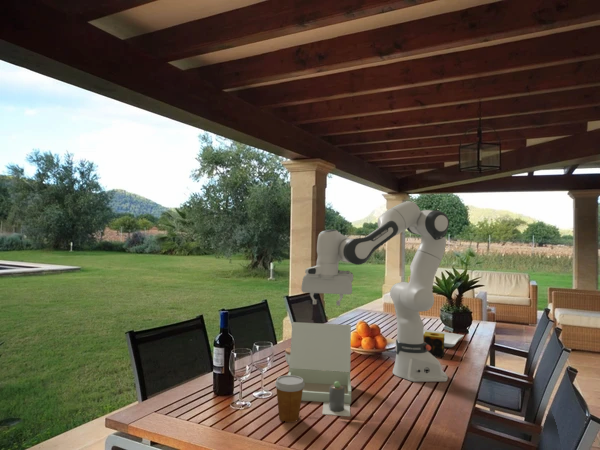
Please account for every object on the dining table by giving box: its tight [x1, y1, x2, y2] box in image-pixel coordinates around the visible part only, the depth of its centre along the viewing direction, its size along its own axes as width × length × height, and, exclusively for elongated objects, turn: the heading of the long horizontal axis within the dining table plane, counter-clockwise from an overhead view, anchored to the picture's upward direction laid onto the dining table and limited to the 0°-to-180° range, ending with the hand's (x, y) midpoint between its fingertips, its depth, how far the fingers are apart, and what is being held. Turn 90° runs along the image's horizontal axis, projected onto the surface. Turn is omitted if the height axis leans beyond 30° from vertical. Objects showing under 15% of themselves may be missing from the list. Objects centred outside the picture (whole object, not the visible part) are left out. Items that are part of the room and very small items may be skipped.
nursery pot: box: [328, 381, 345, 412], centre depth 133 cm, size 5×5×9 cm
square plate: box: [423, 329, 465, 348], centre depth 230 cm, size 27×27×4 cm
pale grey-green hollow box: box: [287, 321, 352, 405], centre depth 151 cm, size 24×25×23 cm
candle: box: [423, 332, 445, 358], centre depth 204 cm, size 10×10×10 cm
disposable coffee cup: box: [274, 374, 305, 423], centre depth 127 cm, size 10×10×12 cm
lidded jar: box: [284, 346, 291, 366], centre depth 177 cm, size 11×11×9 cm
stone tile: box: [321, 402, 351, 417], centre depth 132 cm, size 9×9×1 cm
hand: (326, 304), depth 158 cm, fingers open, 8 cm apart
